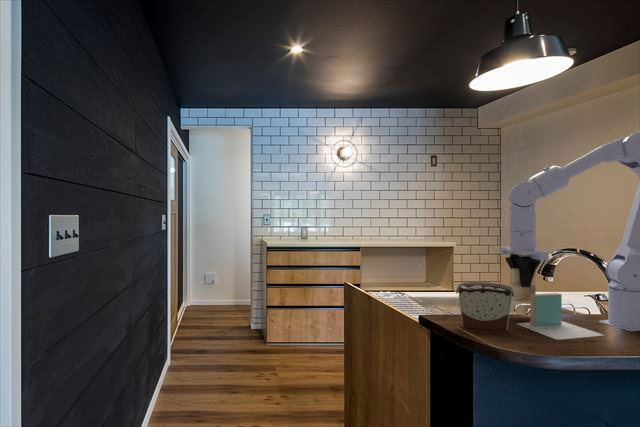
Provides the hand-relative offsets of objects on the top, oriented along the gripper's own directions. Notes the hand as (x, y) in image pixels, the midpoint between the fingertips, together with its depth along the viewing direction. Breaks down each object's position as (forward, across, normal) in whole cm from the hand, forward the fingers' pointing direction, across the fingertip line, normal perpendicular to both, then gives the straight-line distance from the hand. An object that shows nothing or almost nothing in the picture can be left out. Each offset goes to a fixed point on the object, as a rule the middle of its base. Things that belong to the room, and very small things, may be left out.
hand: (522, 286), depth 100 cm
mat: (+8, +11, 0) cm, 14 cm away
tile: (+8, +8, 0) cm, 11 cm away
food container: (+8, +4, -14) cm, 17 cm away
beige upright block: (+3, 0, 0) cm, 3 cm away
